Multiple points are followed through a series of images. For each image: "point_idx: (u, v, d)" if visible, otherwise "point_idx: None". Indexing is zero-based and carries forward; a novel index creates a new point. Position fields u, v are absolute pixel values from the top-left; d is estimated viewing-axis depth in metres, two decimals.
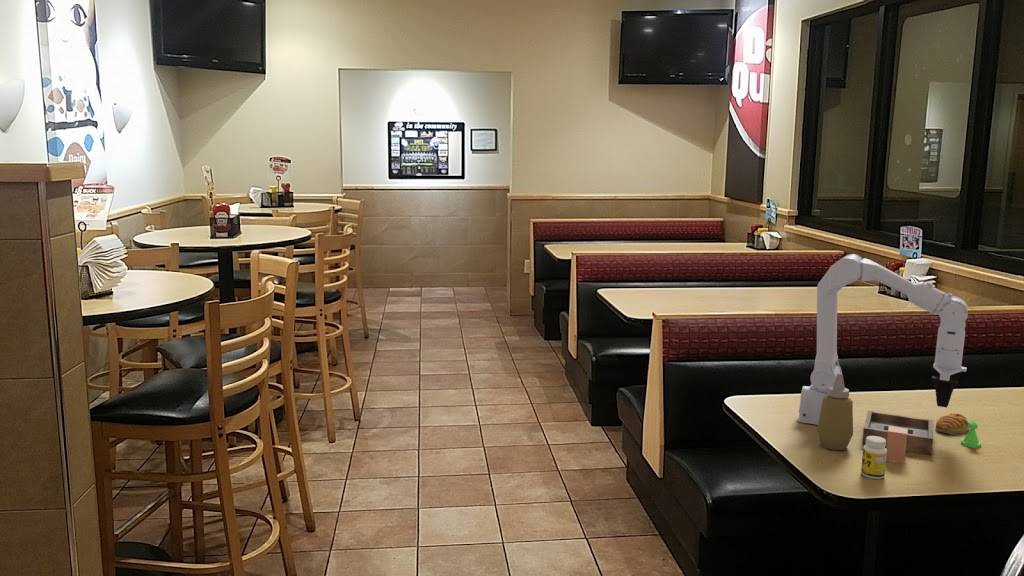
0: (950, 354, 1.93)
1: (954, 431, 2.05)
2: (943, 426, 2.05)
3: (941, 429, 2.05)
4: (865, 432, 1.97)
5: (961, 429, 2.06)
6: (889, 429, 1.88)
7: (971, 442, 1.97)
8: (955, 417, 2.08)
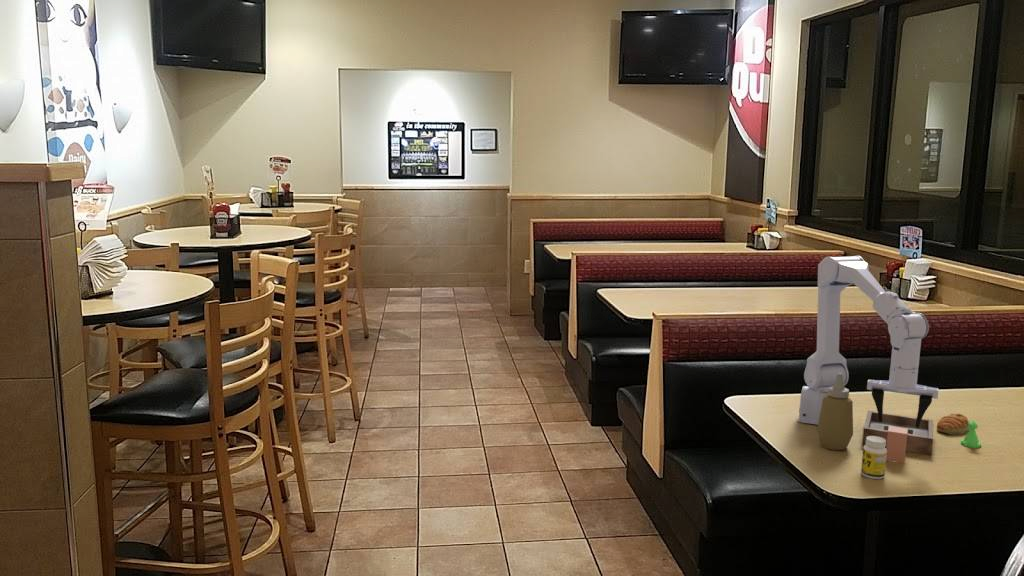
0: (890, 368, 1.86)
1: (955, 431, 2.05)
2: (945, 426, 2.05)
3: (943, 429, 2.05)
4: (865, 432, 1.97)
5: (962, 429, 2.05)
6: (889, 429, 1.88)
7: (971, 441, 1.97)
8: (956, 417, 2.08)
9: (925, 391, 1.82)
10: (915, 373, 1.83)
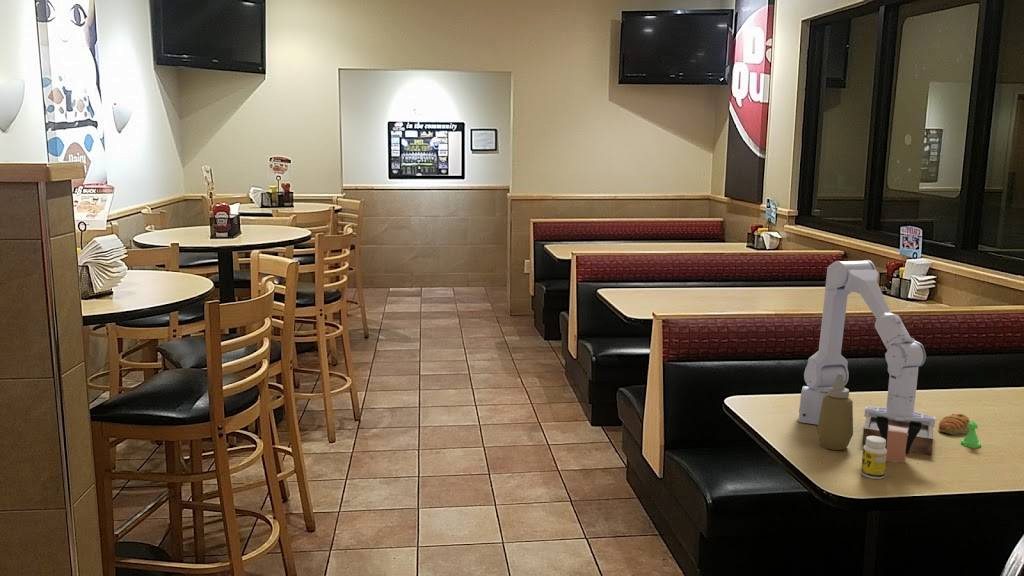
0: (887, 396, 1.87)
1: (957, 431, 2.04)
2: (947, 427, 2.05)
3: (945, 429, 2.05)
4: (865, 432, 1.97)
5: (964, 429, 2.05)
6: (889, 429, 1.88)
7: (971, 442, 1.97)
8: (958, 417, 2.08)
9: (922, 419, 1.83)
10: (912, 401, 1.84)
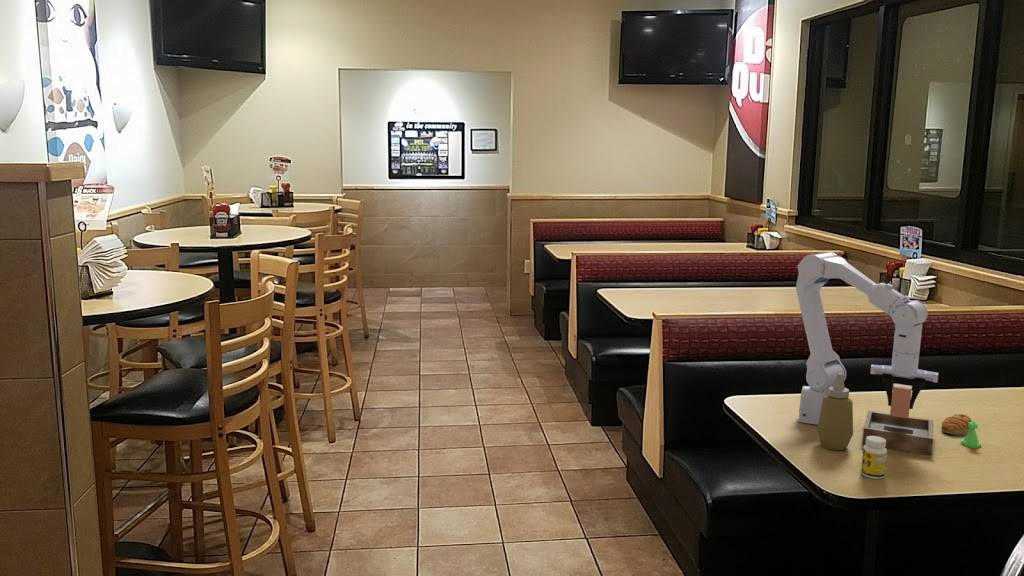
0: (892, 354, 1.95)
1: (960, 432, 2.04)
2: (950, 427, 2.05)
3: (948, 430, 2.05)
4: (865, 432, 1.97)
5: (967, 430, 2.05)
6: (894, 386, 1.96)
7: (971, 442, 1.97)
8: (960, 418, 2.07)
9: (925, 375, 1.92)
10: (916, 358, 1.92)
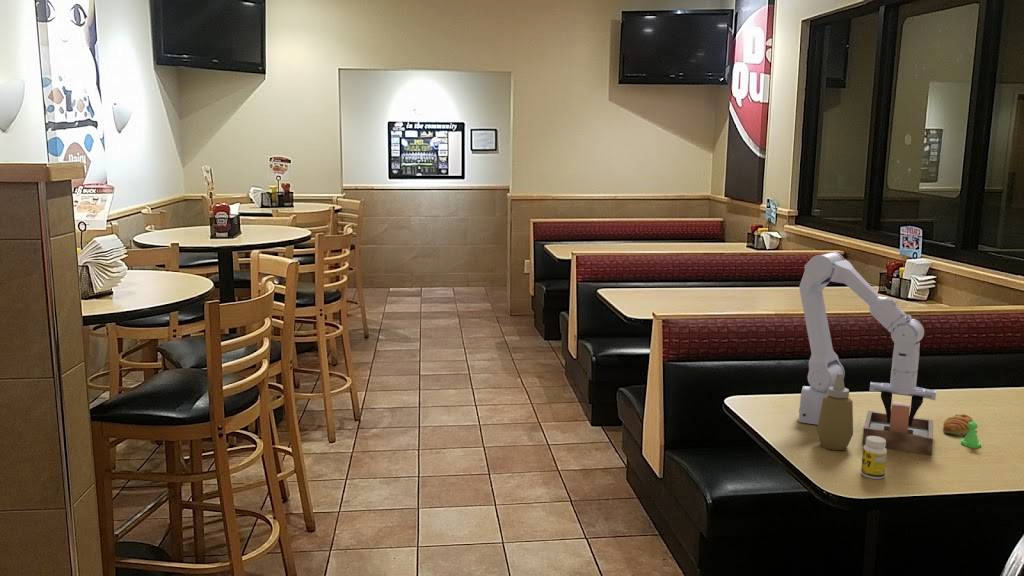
0: (891, 372, 1.99)
1: (962, 432, 2.04)
2: (952, 428, 2.04)
3: (950, 430, 2.04)
4: (865, 432, 1.97)
5: None
6: (893, 403, 1.99)
7: (971, 442, 1.97)
8: (962, 418, 2.07)
9: (924, 393, 1.95)
10: (914, 376, 1.96)
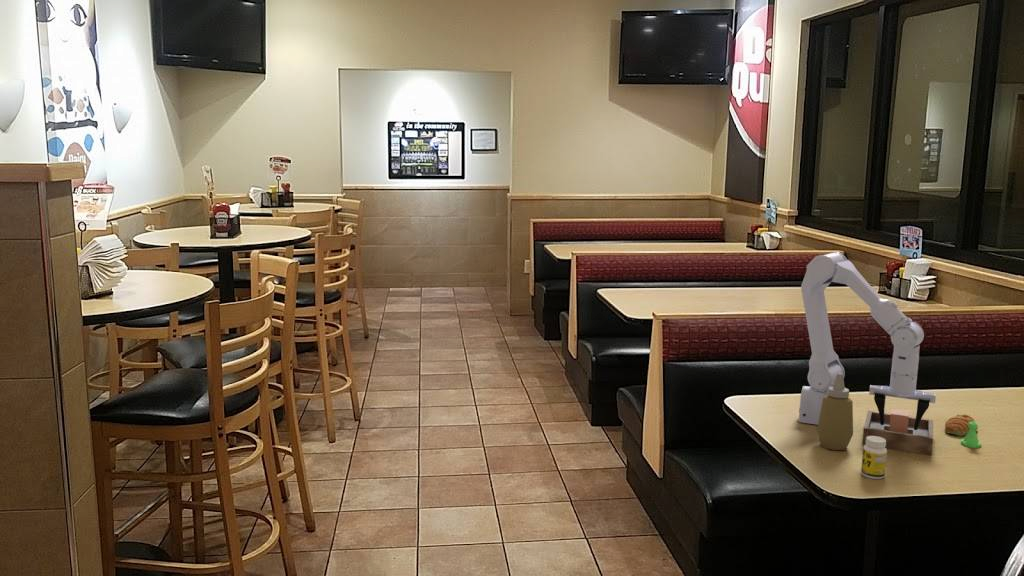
0: (891, 375, 1.99)
1: (964, 433, 2.04)
2: (954, 428, 2.04)
3: (952, 431, 2.04)
4: (865, 432, 1.97)
5: None
6: (892, 412, 2.00)
7: (971, 442, 1.97)
8: (964, 418, 2.07)
9: (923, 396, 1.95)
10: (914, 379, 1.96)
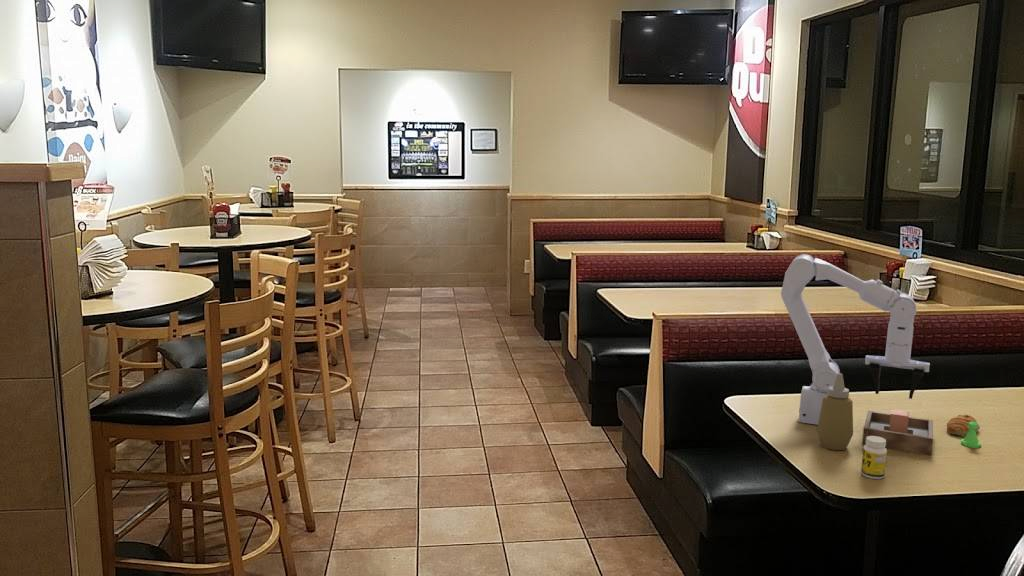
0: (886, 345, 2.04)
1: (966, 433, 2.04)
2: (956, 428, 2.04)
3: (954, 431, 2.04)
4: (865, 432, 1.97)
5: None
6: (892, 412, 2.00)
7: (971, 442, 1.97)
8: (965, 418, 2.07)
9: (917, 365, 2.00)
10: (908, 349, 2.01)
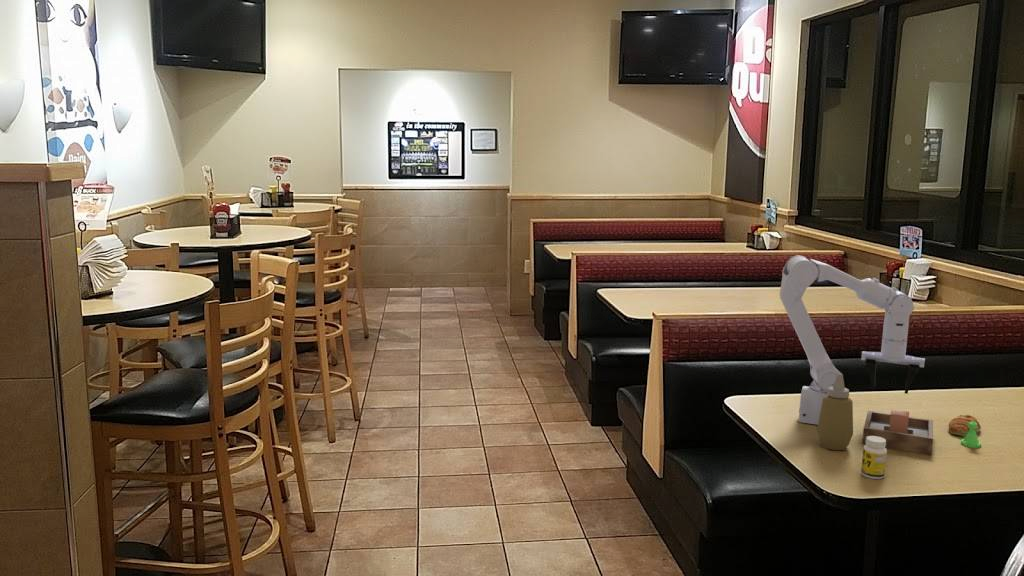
0: (882, 341, 2.08)
1: None
2: (958, 429, 2.04)
3: (956, 431, 2.04)
4: (865, 432, 1.97)
5: None
6: (892, 412, 2.00)
7: (971, 442, 1.97)
8: (967, 419, 2.07)
9: (913, 361, 2.04)
10: (904, 345, 2.05)
